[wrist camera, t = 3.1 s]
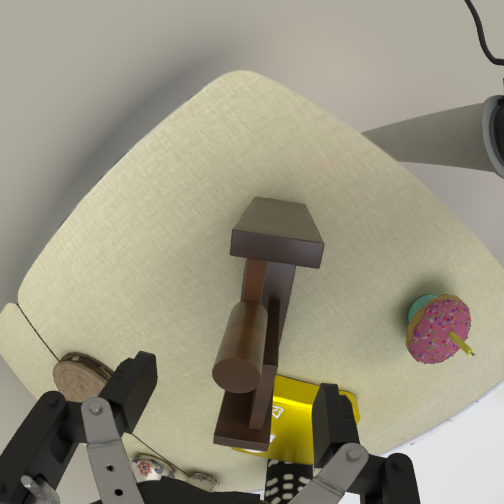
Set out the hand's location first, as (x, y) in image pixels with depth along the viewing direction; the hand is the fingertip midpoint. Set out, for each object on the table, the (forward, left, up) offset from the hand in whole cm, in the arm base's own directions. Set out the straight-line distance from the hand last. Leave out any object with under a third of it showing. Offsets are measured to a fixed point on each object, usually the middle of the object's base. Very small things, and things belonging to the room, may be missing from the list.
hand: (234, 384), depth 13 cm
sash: (0, 0, -17) cm, 17 cm away
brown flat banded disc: (+29, -25, -19) cm, 43 cm away
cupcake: (+4, +21, -19) cm, 28 cm away
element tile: (+24, +8, -19) cm, 31 cm away
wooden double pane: (+4, +1, -19) cm, 19 cm away
